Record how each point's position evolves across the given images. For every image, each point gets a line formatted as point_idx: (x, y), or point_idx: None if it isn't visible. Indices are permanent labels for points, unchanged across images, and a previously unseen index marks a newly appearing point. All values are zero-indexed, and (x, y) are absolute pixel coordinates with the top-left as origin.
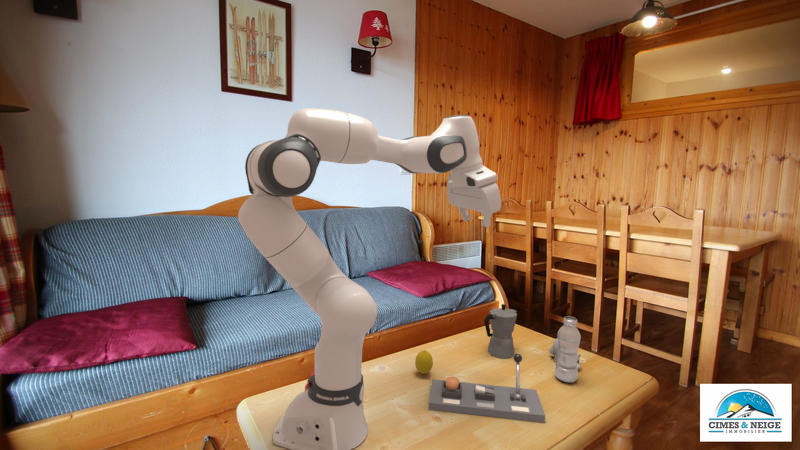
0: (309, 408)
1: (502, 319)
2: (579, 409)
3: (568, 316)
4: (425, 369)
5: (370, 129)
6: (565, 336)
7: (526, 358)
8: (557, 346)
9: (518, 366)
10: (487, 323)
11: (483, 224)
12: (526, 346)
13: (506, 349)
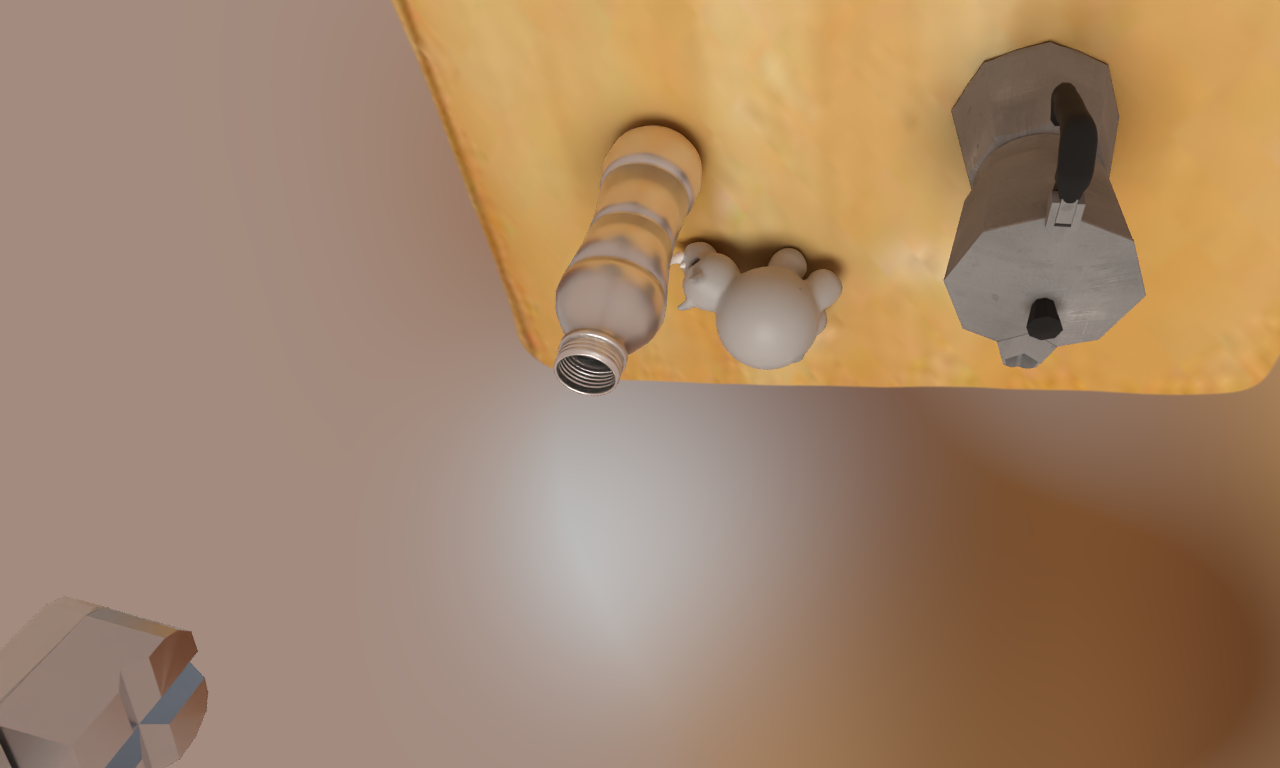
0: None
1: (992, 220)
2: (466, 9)
3: (613, 389)
4: None
5: None
6: (587, 274)
7: (896, 169)
8: (768, 293)
9: None
10: (1062, 123)
11: (85, 650)
12: None
13: (972, 120)
